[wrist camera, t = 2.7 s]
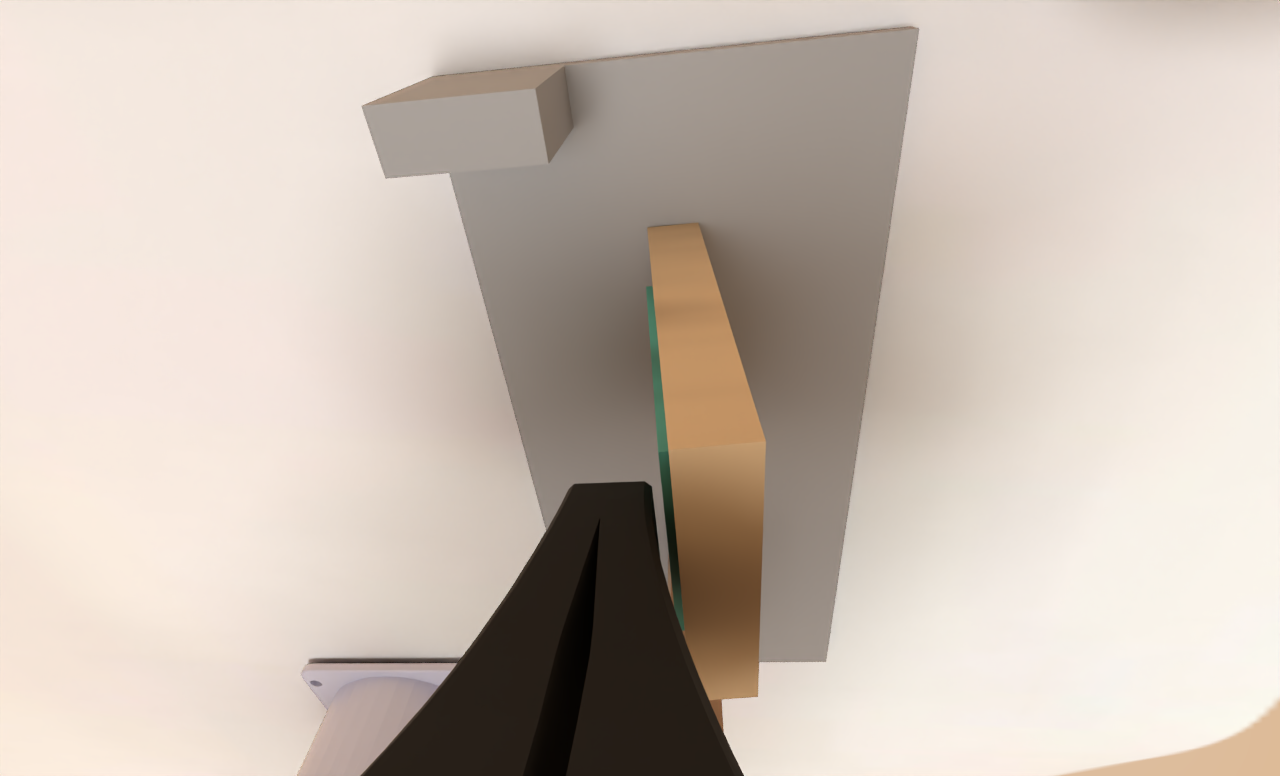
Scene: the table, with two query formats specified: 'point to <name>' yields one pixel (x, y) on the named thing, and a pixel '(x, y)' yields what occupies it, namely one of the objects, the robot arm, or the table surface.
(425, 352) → the table surface
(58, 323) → the table surface
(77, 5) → the table surface
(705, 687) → the oak tile
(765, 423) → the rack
